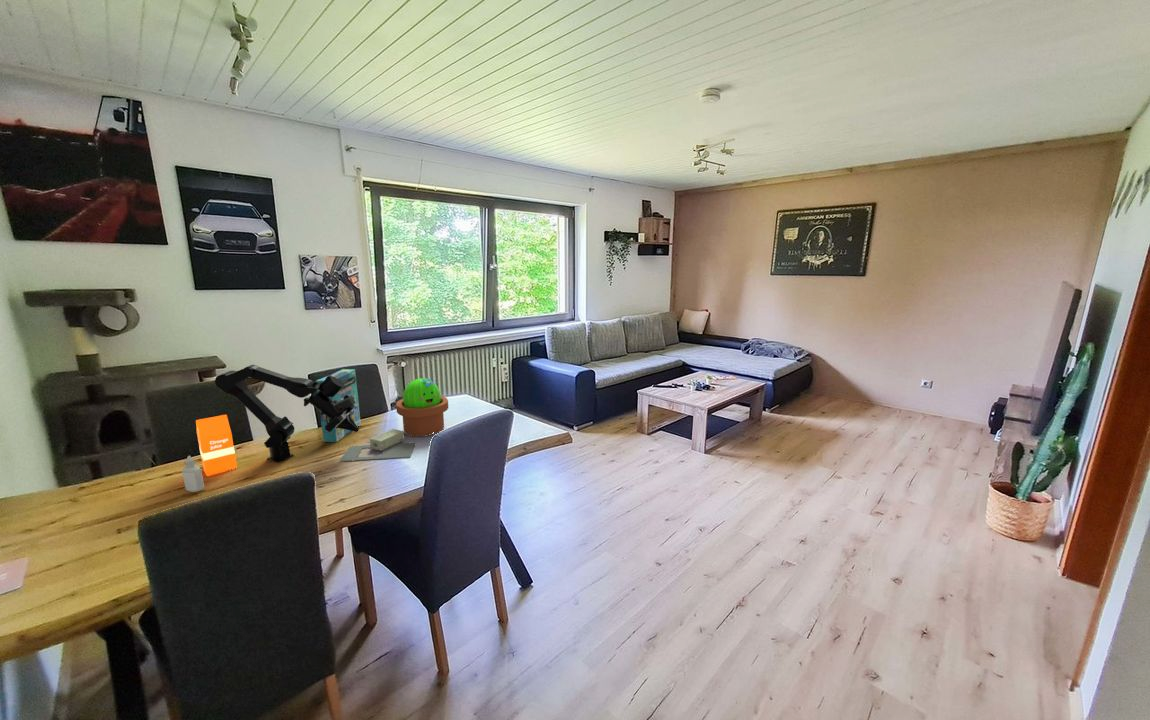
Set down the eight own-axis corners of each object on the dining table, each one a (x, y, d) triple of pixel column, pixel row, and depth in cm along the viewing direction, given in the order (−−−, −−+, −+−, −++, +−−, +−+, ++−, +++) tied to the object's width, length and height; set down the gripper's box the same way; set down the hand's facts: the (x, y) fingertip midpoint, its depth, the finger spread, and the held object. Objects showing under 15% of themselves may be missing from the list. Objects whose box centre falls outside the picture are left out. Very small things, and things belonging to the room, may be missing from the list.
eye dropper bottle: (188, 495, 141) (181, 460, 138) (185, 489, 144) (178, 455, 142) (205, 490, 144) (199, 456, 141) (202, 484, 148) (195, 451, 145)
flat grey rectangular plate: (338, 462, 166) (338, 461, 165) (350, 447, 179) (350, 446, 179) (410, 457, 170) (410, 456, 170) (416, 443, 184) (416, 442, 184)
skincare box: (381, 451, 175) (404, 440, 185) (380, 441, 174) (403, 431, 184) (369, 448, 177) (393, 438, 188) (369, 438, 176) (393, 428, 187)
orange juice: (237, 468, 159) (229, 416, 155) (206, 476, 153) (196, 423, 149) (233, 461, 164) (224, 411, 160) (203, 469, 158) (193, 417, 154)
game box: (337, 442, 183) (330, 380, 178) (322, 442, 183) (315, 380, 178) (361, 425, 203) (356, 369, 197) (348, 424, 203) (342, 368, 198)
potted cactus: (391, 428, 199) (386, 376, 194) (436, 418, 214) (433, 369, 209) (410, 443, 184) (406, 386, 178) (457, 430, 198) (455, 378, 193)
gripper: (331, 397, 158) (366, 425, 162) (347, 384, 176) (378, 409, 180) (310, 418, 158) (345, 445, 162) (328, 402, 176) (359, 427, 180)
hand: (358, 430), depth 171 cm, fingers closed
